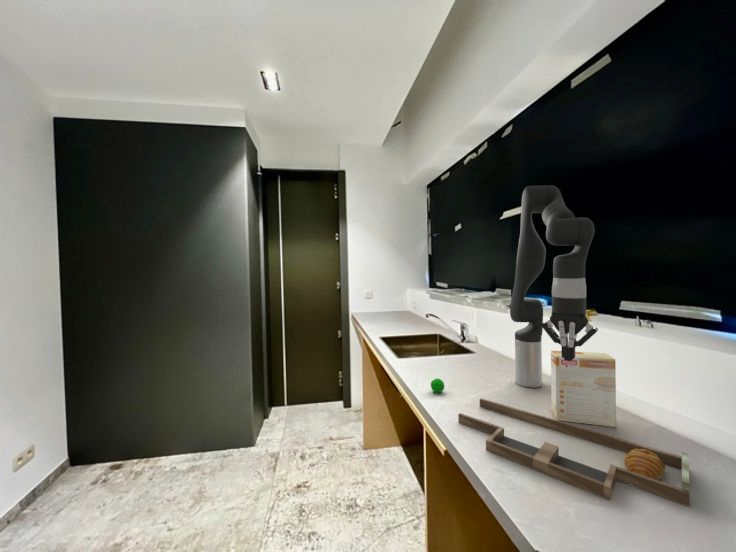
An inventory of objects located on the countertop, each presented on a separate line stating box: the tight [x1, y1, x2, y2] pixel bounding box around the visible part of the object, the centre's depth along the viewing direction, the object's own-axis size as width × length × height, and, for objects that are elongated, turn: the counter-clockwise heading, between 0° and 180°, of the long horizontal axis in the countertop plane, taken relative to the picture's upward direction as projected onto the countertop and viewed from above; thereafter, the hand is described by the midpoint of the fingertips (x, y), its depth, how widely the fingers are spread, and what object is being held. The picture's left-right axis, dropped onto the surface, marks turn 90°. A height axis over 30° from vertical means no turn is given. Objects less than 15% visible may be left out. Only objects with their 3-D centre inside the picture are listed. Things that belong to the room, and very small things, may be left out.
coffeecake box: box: [550, 350, 617, 428], centre depth 93 cm, size 15×7×20 cm, turn 71°
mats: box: [498, 435, 608, 483], centre depth 73 cm, size 8×23×1 cm, turn 45°
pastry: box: [623, 449, 666, 481], centre depth 69 cm, size 9×7×4 cm
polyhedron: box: [430, 377, 445, 394], centre depth 116 cm, size 5×5×5 cm
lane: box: [457, 398, 691, 507], centre depth 78 cm, size 23×48×4 cm, turn 45°
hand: (568, 359), depth 82 cm, fingers closed
